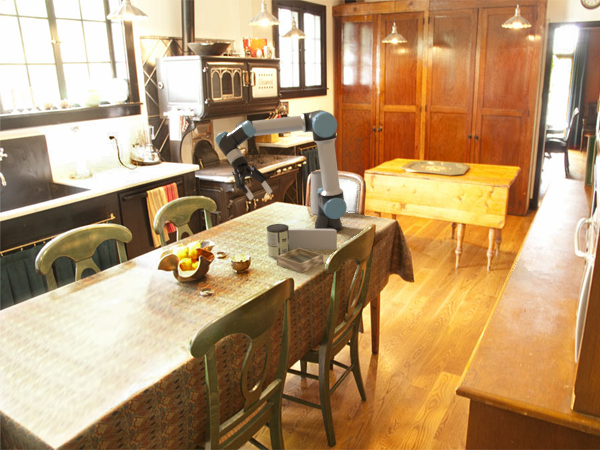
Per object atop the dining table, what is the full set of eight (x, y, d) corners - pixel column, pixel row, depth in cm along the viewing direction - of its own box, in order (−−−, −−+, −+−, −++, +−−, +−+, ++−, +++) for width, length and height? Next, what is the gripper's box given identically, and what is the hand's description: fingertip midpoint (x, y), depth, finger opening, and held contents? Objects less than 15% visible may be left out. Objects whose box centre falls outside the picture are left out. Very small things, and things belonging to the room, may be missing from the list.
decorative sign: (336, 247, 241) (336, 228, 238) (336, 250, 237) (336, 230, 234) (272, 246, 244) (271, 227, 241) (271, 248, 241) (270, 229, 238)
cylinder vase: (310, 215, 295) (309, 174, 287) (312, 209, 307) (312, 170, 299) (330, 215, 293) (330, 175, 285) (332, 210, 305) (332, 170, 297)
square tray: (298, 255, 231) (298, 247, 230) (323, 262, 221) (323, 254, 220) (276, 264, 220) (276, 256, 219) (301, 273, 211) (301, 264, 210)
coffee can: (274, 250, 239) (272, 222, 234) (293, 252, 235) (292, 225, 230) (263, 257, 230) (262, 228, 226) (283, 260, 226) (282, 231, 221)
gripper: (250, 161, 246) (273, 195, 242) (214, 168, 226) (239, 205, 223) (258, 152, 241) (282, 186, 237) (222, 158, 222) (247, 196, 218)
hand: (261, 195), depth 230 cm, fingers open, 13 cm apart
